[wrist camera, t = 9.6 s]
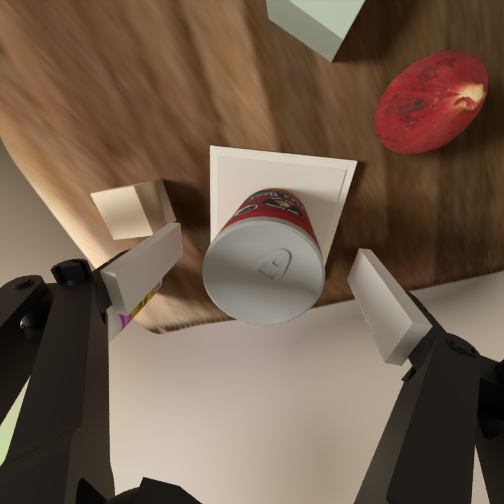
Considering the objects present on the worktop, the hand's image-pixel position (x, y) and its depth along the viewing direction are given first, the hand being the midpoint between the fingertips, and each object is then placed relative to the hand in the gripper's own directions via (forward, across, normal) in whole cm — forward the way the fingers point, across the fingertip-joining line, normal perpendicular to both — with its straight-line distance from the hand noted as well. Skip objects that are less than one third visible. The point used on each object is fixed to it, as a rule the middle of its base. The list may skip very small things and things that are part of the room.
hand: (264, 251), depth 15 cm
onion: (+10, +10, +10) cm, 17 cm away
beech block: (+9, -15, -1) cm, 18 cm away
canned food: (+8, 0, -1) cm, 8 cm away
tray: (+9, 0, -1) cm, 9 cm away
